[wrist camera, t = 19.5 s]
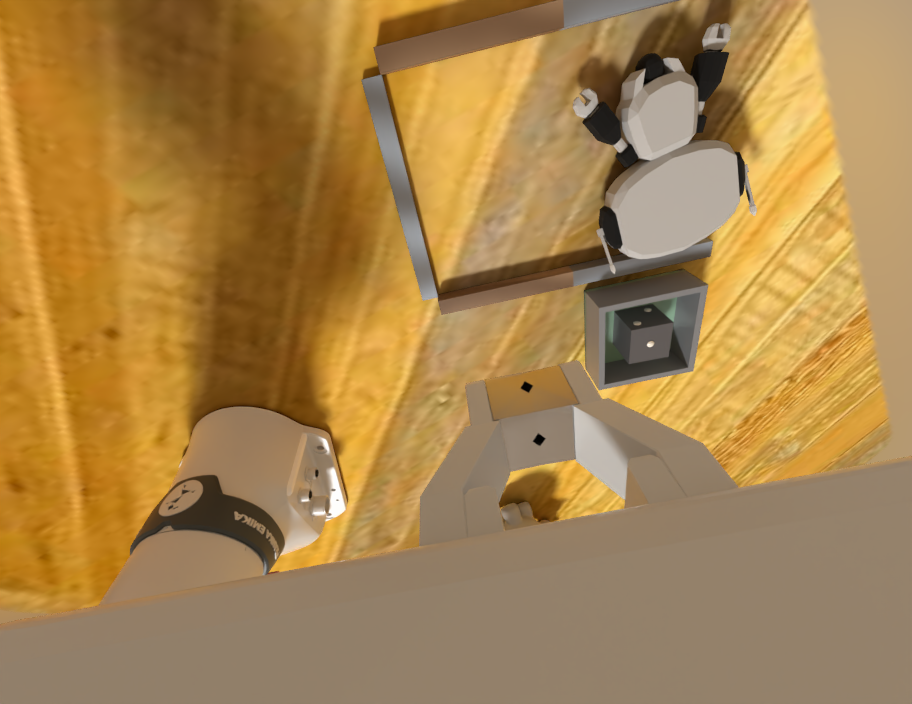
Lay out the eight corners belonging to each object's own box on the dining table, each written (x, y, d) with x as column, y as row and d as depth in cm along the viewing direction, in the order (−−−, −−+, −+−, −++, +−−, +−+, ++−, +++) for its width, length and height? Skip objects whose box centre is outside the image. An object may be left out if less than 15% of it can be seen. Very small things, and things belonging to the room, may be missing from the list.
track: (700, 251, 38) (710, 256, 36) (426, 311, 39) (426, 318, 38) (746, -46, 26) (763, -53, 25) (355, 54, 27) (352, 52, 26)
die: (649, 336, 42) (669, 356, 39) (612, 343, 42) (629, 364, 39) (653, 303, 40) (674, 322, 36) (614, 310, 40) (631, 330, 37)
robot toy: (553, 99, 31) (598, 267, 38) (570, 94, 27) (617, 282, 34) (710, 19, 29) (727, 212, 36) (754, 1, 25) (763, 221, 32)
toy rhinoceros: (523, 519, 64) (548, 573, 59) (476, 523, 56) (500, 585, 51) (554, 497, 61) (584, 551, 56) (509, 497, 53) (539, 561, 48)
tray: (672, 350, 44) (693, 371, 41) (585, 368, 44) (598, 390, 41) (683, 268, 38) (708, 284, 35) (584, 290, 39) (599, 308, 36)
